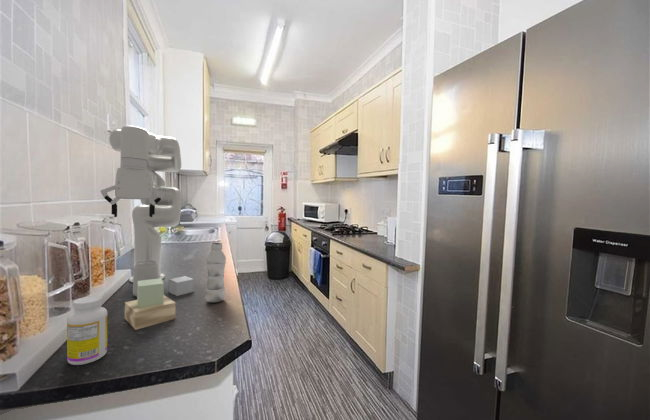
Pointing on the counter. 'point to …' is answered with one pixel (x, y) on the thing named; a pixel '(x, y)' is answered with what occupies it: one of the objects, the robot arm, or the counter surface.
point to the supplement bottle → (86, 331)
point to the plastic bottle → (215, 274)
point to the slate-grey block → (180, 285)
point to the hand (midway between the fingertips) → (133, 216)
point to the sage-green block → (150, 292)
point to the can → (144, 272)
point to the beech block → (149, 313)
